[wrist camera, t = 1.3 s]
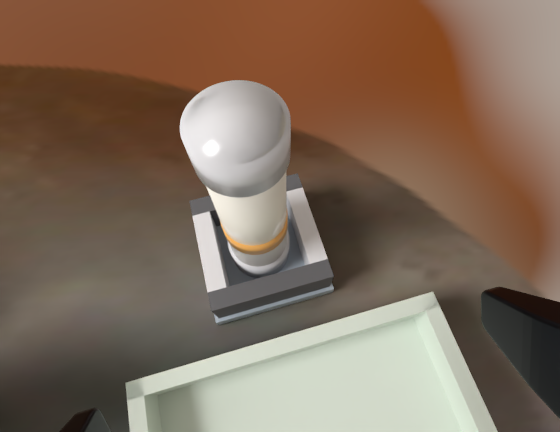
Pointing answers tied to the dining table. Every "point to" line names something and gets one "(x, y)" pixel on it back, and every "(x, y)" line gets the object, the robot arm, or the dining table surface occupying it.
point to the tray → (324, 381)
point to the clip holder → (270, 289)
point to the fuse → (243, 168)
